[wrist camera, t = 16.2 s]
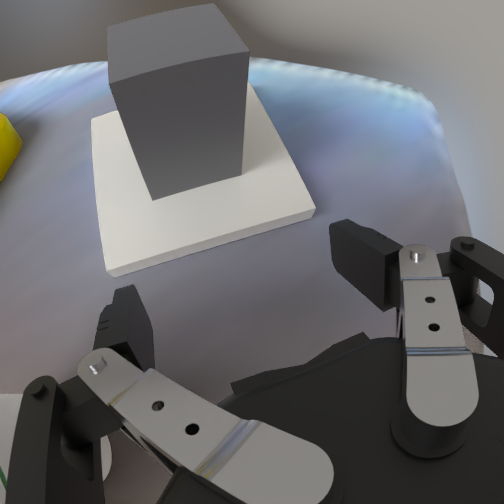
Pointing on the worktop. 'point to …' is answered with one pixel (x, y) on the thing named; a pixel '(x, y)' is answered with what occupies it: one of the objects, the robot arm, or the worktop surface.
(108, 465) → the cylindrical container
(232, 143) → the tall grey pillar
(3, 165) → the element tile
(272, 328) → the worktop surface
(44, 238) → the worktop surface
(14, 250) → the worktop surface
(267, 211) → the stud plate
